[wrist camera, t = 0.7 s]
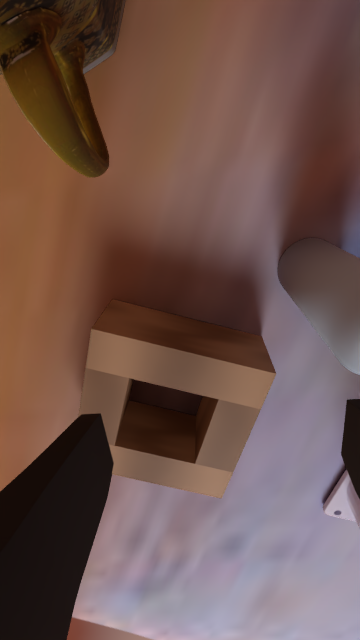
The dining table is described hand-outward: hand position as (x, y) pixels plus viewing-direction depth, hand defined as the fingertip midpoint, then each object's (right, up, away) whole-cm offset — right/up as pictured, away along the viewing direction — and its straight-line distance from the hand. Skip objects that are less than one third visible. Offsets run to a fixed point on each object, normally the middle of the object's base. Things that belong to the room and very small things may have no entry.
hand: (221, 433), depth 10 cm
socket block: (-2, 0, +11) cm, 11 cm away
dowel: (+6, +6, +8) cm, 11 cm away
